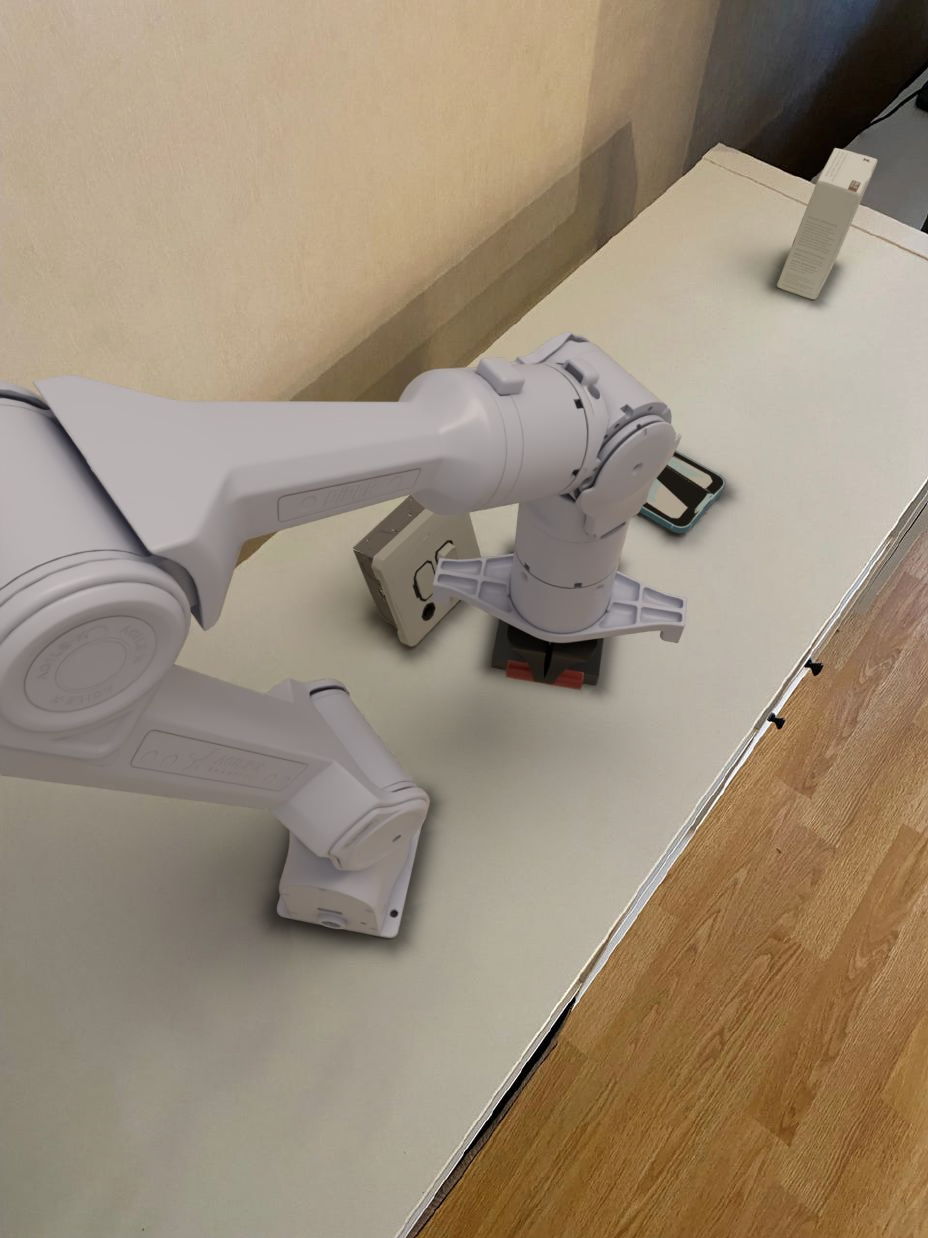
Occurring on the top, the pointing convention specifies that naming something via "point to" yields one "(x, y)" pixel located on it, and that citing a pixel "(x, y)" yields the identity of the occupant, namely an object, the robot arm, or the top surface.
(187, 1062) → the top surface
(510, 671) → the switch lever
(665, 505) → the smartphone
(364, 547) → the electrical switch
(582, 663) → the electrical switch base
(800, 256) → the cosmetic box
